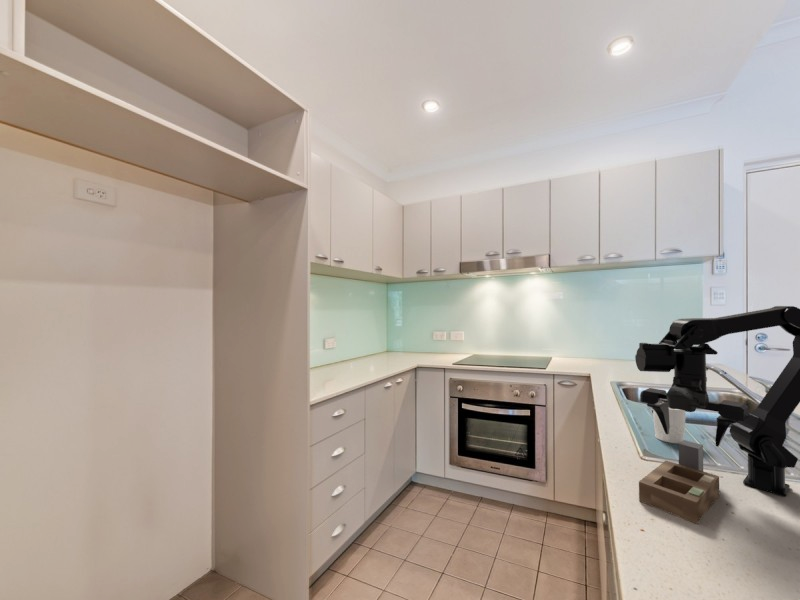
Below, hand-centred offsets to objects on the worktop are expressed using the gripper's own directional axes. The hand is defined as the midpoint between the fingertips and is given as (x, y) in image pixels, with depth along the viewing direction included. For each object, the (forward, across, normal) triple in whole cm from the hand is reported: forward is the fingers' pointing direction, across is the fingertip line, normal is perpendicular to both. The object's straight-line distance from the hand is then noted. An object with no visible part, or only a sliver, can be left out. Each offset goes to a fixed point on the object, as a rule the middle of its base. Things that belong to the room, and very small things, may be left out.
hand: (691, 439), depth 81 cm
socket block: (+9, +1, -12) cm, 15 cm away
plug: (+9, 0, 0) cm, 9 cm away
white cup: (+9, -11, +24) cm, 28 cm away
